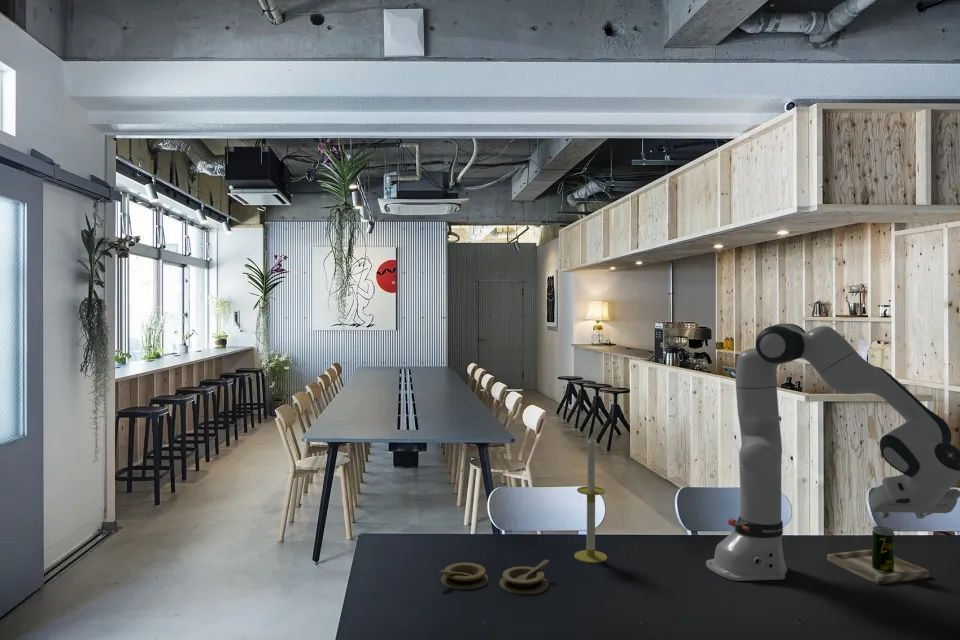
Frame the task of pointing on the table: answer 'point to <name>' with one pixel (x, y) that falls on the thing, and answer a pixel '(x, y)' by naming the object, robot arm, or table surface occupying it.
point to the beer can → (883, 549)
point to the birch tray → (863, 567)
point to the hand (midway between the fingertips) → (900, 515)
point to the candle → (591, 511)
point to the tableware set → (517, 576)
